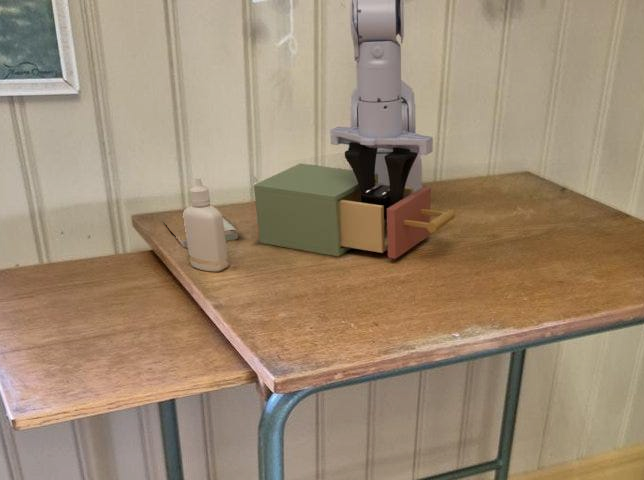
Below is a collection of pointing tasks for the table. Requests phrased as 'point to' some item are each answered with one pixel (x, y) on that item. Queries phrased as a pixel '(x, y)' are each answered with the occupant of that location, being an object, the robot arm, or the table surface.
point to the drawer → (389, 222)
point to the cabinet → (304, 207)
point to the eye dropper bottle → (204, 230)
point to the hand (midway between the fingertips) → (382, 202)
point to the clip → (378, 197)
